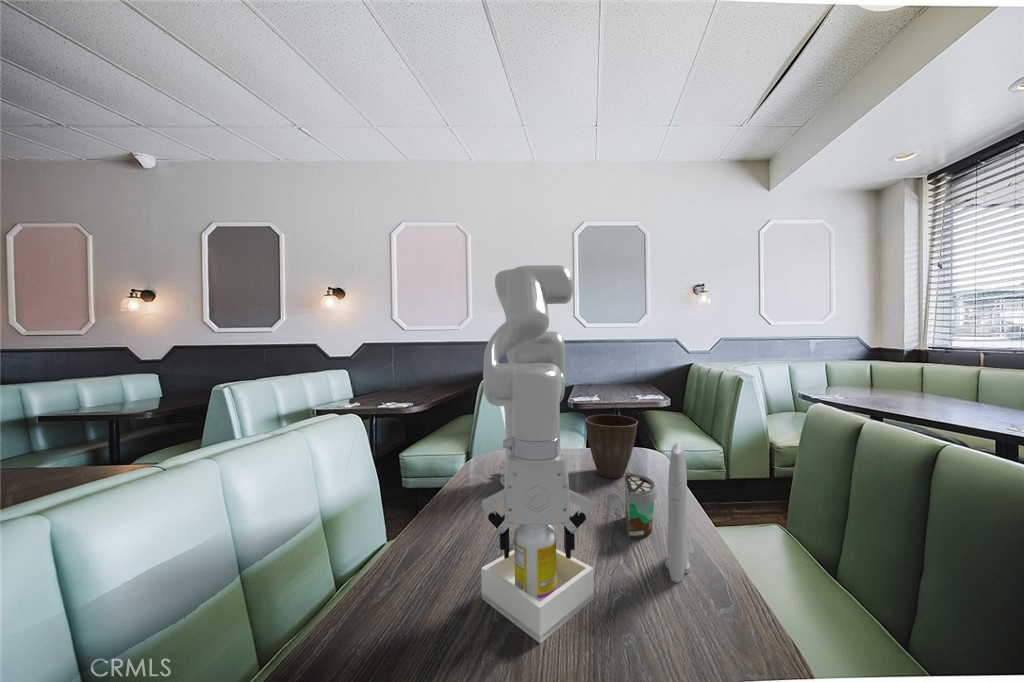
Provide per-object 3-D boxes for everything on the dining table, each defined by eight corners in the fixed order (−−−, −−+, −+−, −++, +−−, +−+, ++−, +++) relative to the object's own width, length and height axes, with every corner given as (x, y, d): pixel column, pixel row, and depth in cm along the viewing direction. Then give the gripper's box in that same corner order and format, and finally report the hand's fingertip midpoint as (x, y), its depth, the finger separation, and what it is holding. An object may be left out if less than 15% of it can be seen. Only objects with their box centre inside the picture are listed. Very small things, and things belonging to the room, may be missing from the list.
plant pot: (620, 462, 125) (620, 413, 124) (648, 480, 110) (648, 423, 110) (577, 467, 121) (576, 416, 120) (600, 486, 106) (600, 428, 106)
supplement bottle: (560, 582, 65) (559, 505, 64) (551, 610, 58) (551, 525, 58) (521, 575, 67) (520, 500, 66) (509, 600, 60) (508, 518, 60)
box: (481, 598, 62) (481, 567, 62) (535, 564, 71) (535, 537, 71) (540, 643, 53) (539, 607, 53) (593, 598, 62) (593, 568, 62)
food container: (662, 545, 77) (662, 495, 77) (630, 542, 78) (630, 493, 78) (653, 516, 89) (653, 472, 89) (625, 514, 90) (624, 471, 90)
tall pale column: (668, 549, 76) (668, 436, 75) (691, 554, 74) (691, 439, 73) (661, 580, 66) (662, 452, 66) (688, 587, 64) (688, 455, 64)
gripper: (478, 454, 58) (480, 568, 58) (595, 454, 58) (596, 568, 58) (483, 440, 65) (484, 540, 66) (587, 439, 65) (587, 540, 66)
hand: (537, 553), depth 62 cm, fingers open, 9 cm apart
